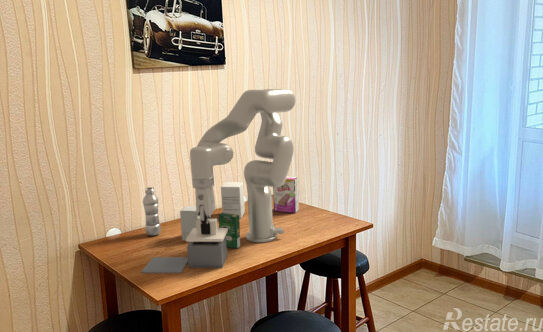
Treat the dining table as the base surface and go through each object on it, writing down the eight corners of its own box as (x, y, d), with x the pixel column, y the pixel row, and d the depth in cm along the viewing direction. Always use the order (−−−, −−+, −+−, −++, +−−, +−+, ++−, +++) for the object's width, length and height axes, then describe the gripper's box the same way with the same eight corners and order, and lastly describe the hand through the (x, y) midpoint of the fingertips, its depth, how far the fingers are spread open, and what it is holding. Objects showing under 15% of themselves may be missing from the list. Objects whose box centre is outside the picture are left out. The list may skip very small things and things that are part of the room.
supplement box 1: (199, 241, 205) (196, 211, 203) (181, 240, 207) (179, 210, 204) (205, 234, 212) (203, 205, 210) (188, 234, 214) (185, 205, 211)
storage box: (227, 256, 189) (226, 236, 187) (222, 267, 179) (221, 246, 177) (195, 256, 190) (193, 236, 188) (188, 267, 180) (186, 246, 178)
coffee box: (241, 246, 198) (239, 214, 195) (238, 249, 195) (236, 216, 193) (223, 244, 201) (221, 212, 199) (219, 246, 199) (217, 214, 196)
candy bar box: (273, 211, 240) (272, 177, 237) (277, 208, 245) (276, 175, 241) (295, 213, 236) (294, 179, 232) (299, 210, 240) (298, 176, 237)
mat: (190, 258, 188) (190, 257, 188) (181, 273, 176) (181, 271, 176) (153, 258, 190) (153, 257, 190) (141, 272, 177) (141, 271, 177)
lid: (227, 230, 187) (226, 214, 186) (222, 241, 177) (221, 225, 175) (193, 230, 188) (192, 215, 187) (186, 241, 178) (184, 225, 177)
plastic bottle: (147, 238, 211) (142, 191, 207) (144, 233, 217) (140, 187, 213) (163, 235, 213) (158, 189, 209) (159, 230, 220) (155, 185, 215)
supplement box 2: (226, 212, 242) (224, 181, 239) (245, 212, 241) (243, 181, 237) (222, 218, 233) (220, 186, 230) (241, 218, 232) (239, 186, 229)
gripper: (208, 188, 170) (212, 240, 174) (218, 176, 186) (221, 224, 190) (186, 188, 170) (191, 240, 175) (197, 176, 186) (201, 224, 190)
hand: (207, 231), depth 182 cm, fingers closed on lid, 3 cm apart
